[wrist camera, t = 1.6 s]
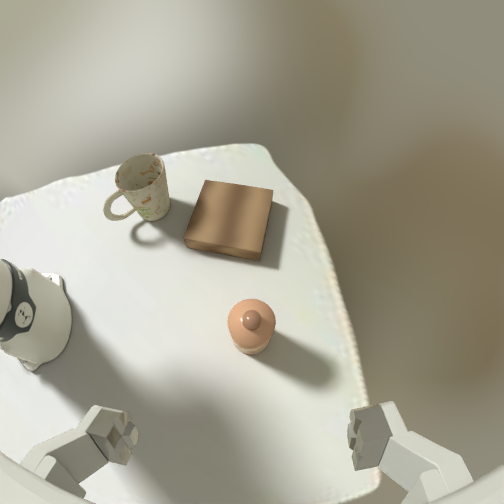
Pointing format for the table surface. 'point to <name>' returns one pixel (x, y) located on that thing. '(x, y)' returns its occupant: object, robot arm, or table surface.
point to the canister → (251, 325)
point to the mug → (141, 188)
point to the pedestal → (230, 219)
